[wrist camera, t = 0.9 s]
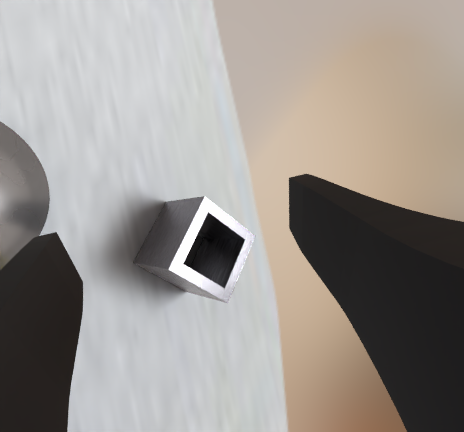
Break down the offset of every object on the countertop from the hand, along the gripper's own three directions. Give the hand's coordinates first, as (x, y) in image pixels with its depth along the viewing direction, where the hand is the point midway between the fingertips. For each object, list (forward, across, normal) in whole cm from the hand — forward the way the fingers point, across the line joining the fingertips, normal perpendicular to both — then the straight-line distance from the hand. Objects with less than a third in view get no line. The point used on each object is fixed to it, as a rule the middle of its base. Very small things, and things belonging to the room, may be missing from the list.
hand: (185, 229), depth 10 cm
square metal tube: (+11, +1, +10) cm, 15 cm away
